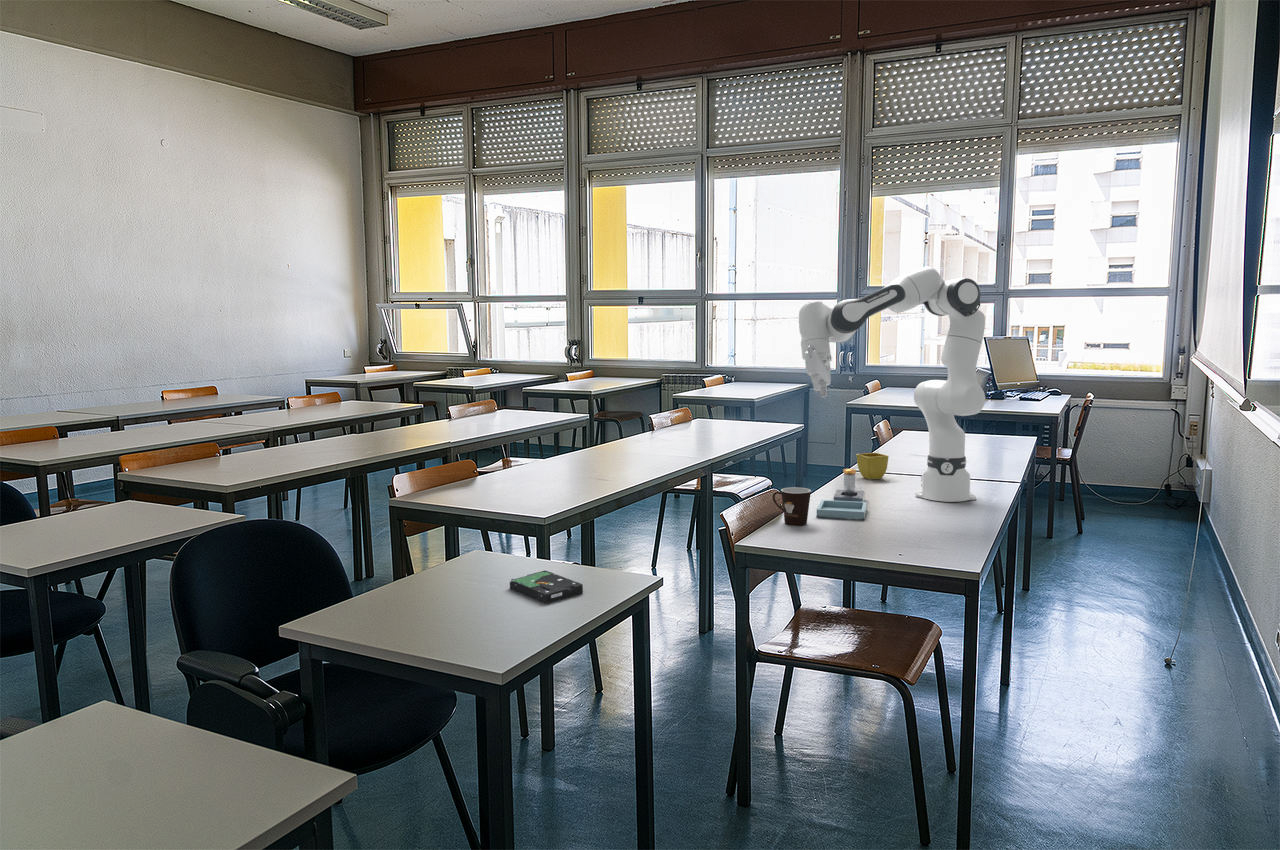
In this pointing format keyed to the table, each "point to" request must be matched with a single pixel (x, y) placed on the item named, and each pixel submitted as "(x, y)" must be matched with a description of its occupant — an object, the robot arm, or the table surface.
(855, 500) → the socket block
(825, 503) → the tray
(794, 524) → the coffee mug
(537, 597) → the disk drive
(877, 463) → the flower pot
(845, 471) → the orange capped bottle
